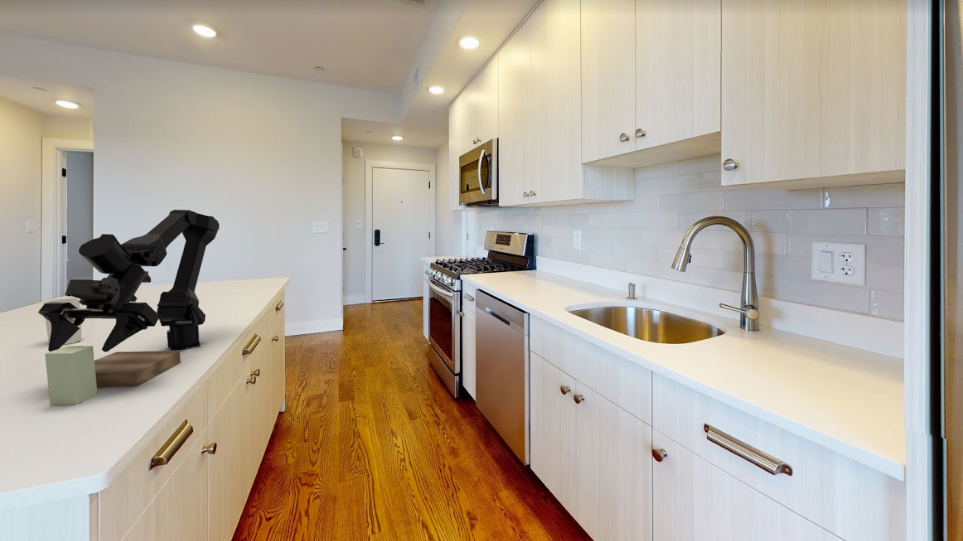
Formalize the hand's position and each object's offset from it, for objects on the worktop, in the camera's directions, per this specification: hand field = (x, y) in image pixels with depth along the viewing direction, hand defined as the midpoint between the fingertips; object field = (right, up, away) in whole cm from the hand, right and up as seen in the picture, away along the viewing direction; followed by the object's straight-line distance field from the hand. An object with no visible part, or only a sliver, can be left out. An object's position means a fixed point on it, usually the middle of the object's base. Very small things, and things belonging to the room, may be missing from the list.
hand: (77, 351), depth 73 cm
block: (0, -9, -1) cm, 9 cm away
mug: (-40, -4, +34) cm, 52 cm away
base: (-2, -8, +12) cm, 14 cm away
